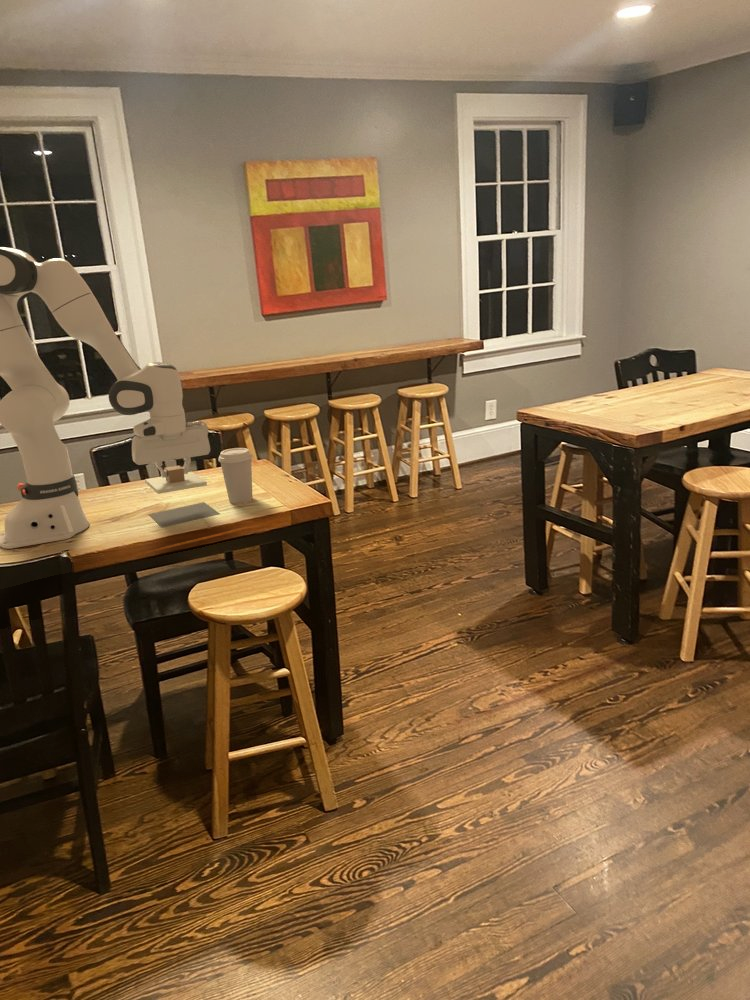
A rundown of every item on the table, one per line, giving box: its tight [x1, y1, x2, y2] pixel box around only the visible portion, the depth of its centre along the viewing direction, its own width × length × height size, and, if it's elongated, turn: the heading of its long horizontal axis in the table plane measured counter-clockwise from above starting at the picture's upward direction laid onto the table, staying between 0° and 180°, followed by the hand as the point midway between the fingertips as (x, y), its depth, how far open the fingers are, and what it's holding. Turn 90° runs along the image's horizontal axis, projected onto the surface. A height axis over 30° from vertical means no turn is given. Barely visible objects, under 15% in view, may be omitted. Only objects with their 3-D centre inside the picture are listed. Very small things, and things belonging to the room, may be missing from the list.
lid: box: [144, 465, 208, 495], centre depth 195 cm, size 13×13×4 cm
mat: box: [148, 501, 221, 528], centre depth 198 cm, size 16×14×1 cm
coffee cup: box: [218, 447, 254, 505], centre depth 205 cm, size 10×10×15 cm
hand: (174, 475), depth 195 cm, fingers closed on lid, 4 cm apart
